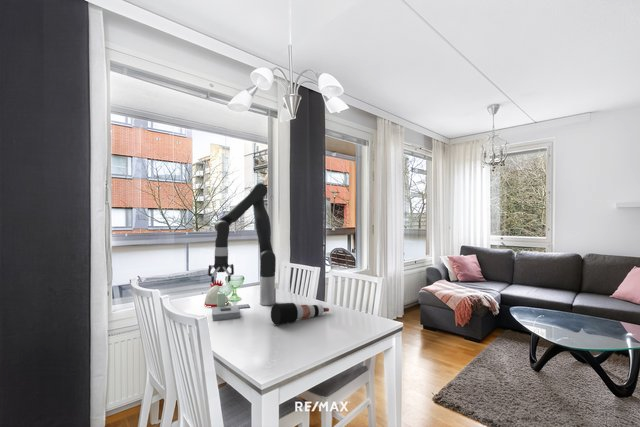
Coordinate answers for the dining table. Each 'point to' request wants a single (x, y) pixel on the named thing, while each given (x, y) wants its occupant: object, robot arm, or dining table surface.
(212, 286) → the kitchen timer
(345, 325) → the dining table surface
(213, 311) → the plate
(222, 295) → the block
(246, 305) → the panel
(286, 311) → the bottle
